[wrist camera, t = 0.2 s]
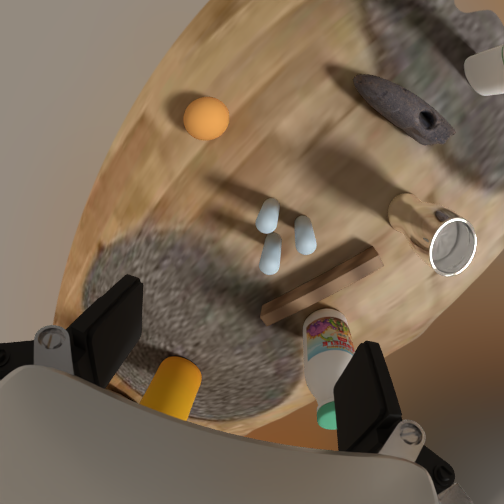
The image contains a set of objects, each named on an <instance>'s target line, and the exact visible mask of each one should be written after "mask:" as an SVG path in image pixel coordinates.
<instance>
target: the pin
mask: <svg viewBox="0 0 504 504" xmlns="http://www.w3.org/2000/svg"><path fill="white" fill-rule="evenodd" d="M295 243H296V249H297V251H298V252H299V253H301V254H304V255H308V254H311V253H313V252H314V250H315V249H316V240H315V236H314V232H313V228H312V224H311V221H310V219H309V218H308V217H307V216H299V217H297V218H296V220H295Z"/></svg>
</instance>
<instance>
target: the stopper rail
mask: <svg viewBox="0 0 504 504" xmlns="http://www.w3.org/2000/svg"><path fill="white" fill-rule="evenodd" d="M383 266H384V264H383V262H382V260H381V258H380V256H379V254H378V253H377V251H376V250H375V249H374V247H373V246H372V247H370V248H369V249H367V250H365V251H363V252H362V253H360V254H358V255H356V256H355V257H353V258H351V259H349V260H347V261H346V262H344V263H342V264H340V265H338V266H337V267H335V268H333V269H331V270H329V271H327V272H326V273H324V274H322V275H320V276H318V277H316V278H314V279H312V280H311V281H309V282H307V283H305V284H303V285H301V286H299V287H297V288H295V289H293V290H291V291H290V292H288V293H286V294H284V295H282V296H280V297H278V298H276V299H274V300H272V301H270V302H268V303H266V304H264V305H262V310H261V315H260V318H261V319H262V320H263V322H264V323H265V324H266V326H269V325H271V324H273V323H275V322H277V321H280V320H282V319H284V318H286V317H288V316H290V315H292V314H294V313H296V312H298V311H300V310H302V309H304V308H306V307H309V306H311V305H313V304H314V303H316V302H318V301H320V300H322V299H324V298H326V297H328V296H330V295H332V294H334V293H336V292H338V291H340V290H342V289H343V288H345V287H347V286H349V285H351V284H353V283H355V282H356V281H358V280H360V279H362V278H364V277H366V276H367V275H369V274H371V273H373V272H374V271H376V270H378V269H380V268H382V267H383Z"/></svg>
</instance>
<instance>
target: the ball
mask: <svg viewBox="0 0 504 504" xmlns="http://www.w3.org/2000/svg"><path fill="white" fill-rule="evenodd" d="M183 121H184V126H185V128H186V130H187V132H188V133H189V134H190V135H191V136H193V137H194V138H196V139H199V140H212V139H215V138H217V137H219V136H220V135H221V134H222V133H223V132H224V131H225V130H226V128H227V126H228V123H229V112H228V109H227V107H226V106H225V105H224V103H222V102H221V101H220V100H218V99H216V98H213V97H201V98H198V99H196V100H194V101H193V102H192V103H190V104H189V106H188V107H187V108H186V110H185V113H184V118H183Z"/></svg>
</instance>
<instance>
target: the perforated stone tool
mask: <svg viewBox="0 0 504 504" xmlns="http://www.w3.org/2000/svg"><path fill="white" fill-rule="evenodd" d="M353 82H354V85H355V87H356V89H357V90H358V92H359V93H360V95H361V96H362V97H363V98H364V99H365V100H366V101H367V102H368V103H369V104H370V105H371V106H372V107H373V108H374V109H375V110H376V111H378V112H379V113H380V114H381V115H383V116H384V117H385V118H386V119H388V120H389V121H390V122H392V123H393V124H394V125H395V126H397V127H399V128H402V129H403V130H404V131H405V132H406V133H407V134H408V135H409V136H410V137H412V138H413V139H414V140H416V141H417V142H419V143H420V144H422V145H431V144H435V143H438V144H444V143H445V142H446V140H447V139H448V138H449V137H450V136H451V135H454V134H455V133H456V132H455V130H454V129H453V127H452V126H451V125H450V124H449V123H448V122H447V121H446V120H445V119H444V117H442V116H441V115H440V114H439V113H438V112H437V111H436V110H435V109H434V108H433V107H431V106H430V105H429V104H428V103H426V102H425V101H424V100H422V99H421V98H419V97H418V96H417V95H415V94H414V93H412V92H410V91H409V90H407V89H405V88H403V87H402V86H400V85H398V84H395V83H393V82H391V81H389V80H386V79H383V78H380V77H377V76H373V75H365V74H363V75H361V74H360V75H356V76H355V77H354V78H353Z"/></svg>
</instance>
